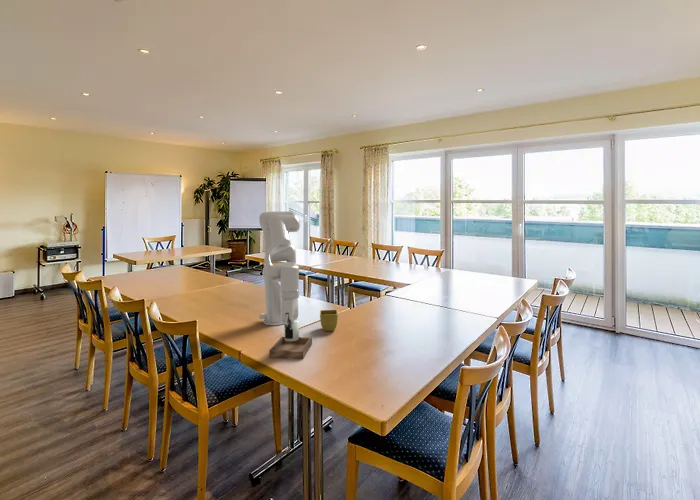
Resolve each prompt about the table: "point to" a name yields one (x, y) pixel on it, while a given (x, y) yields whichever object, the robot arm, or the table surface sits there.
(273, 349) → the tray
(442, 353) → the table surface
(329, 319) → the flower pot
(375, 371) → the table surface
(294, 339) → the white upright rounded piece
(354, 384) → the table surface
